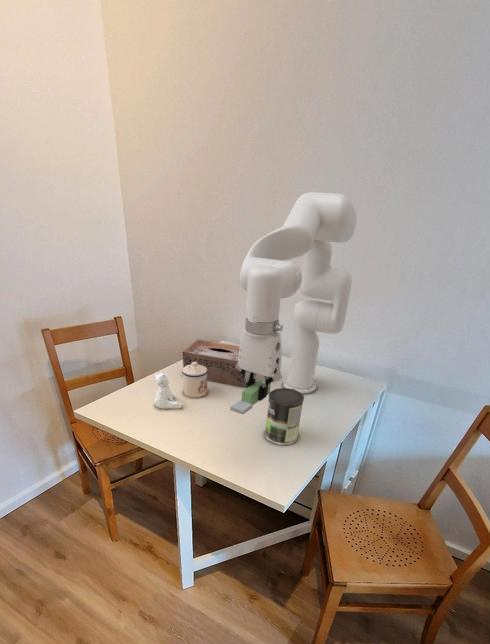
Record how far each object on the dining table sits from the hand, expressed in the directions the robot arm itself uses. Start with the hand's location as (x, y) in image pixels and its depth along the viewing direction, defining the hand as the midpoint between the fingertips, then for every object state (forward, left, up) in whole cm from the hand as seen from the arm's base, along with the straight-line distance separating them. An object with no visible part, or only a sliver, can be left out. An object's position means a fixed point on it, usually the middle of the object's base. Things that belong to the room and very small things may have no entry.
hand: (256, 396), depth 100 cm
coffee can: (-15, +2, -20) cm, 25 cm away
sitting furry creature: (-9, -40, -20) cm, 45 cm away
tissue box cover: (-41, -39, -20) cm, 59 cm away
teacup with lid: (-24, -38, -20) cm, 49 cm away
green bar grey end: (+2, 0, -1) cm, 2 cm away
